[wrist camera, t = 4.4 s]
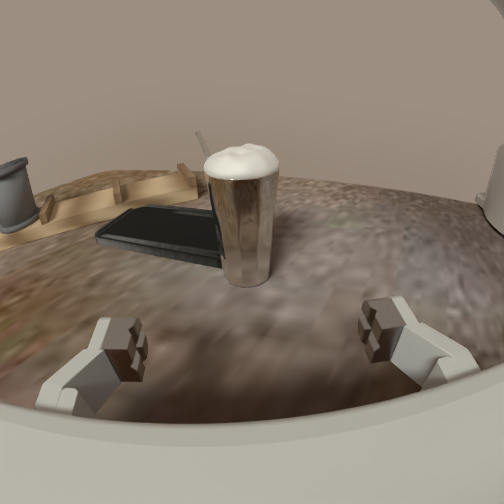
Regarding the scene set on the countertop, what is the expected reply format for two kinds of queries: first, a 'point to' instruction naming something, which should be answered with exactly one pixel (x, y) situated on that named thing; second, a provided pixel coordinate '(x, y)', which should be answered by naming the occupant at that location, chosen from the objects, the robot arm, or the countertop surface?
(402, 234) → the countertop surface
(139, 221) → the phone
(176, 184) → the organizer
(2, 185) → the spool
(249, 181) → the milkshake
